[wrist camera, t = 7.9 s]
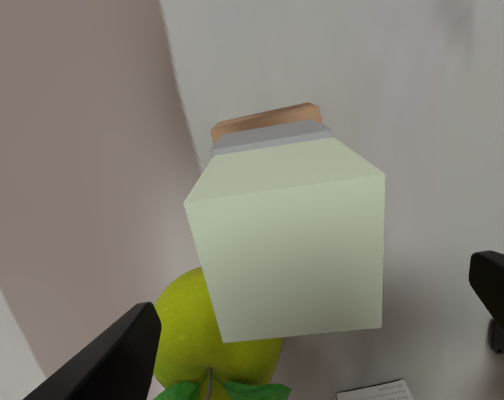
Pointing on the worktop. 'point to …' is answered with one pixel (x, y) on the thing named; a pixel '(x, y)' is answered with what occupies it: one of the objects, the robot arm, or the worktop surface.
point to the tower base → (267, 119)
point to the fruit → (209, 351)
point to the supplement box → (380, 392)
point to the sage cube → (291, 240)
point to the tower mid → (270, 136)
